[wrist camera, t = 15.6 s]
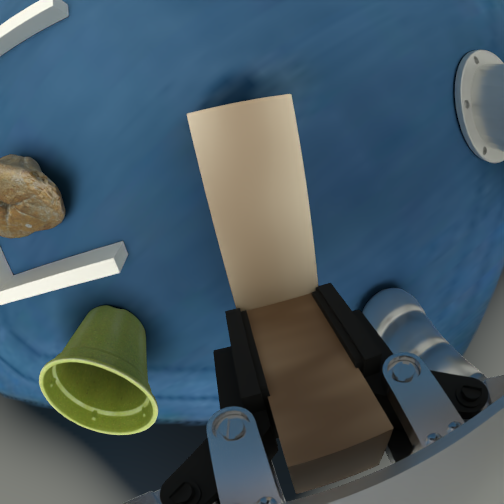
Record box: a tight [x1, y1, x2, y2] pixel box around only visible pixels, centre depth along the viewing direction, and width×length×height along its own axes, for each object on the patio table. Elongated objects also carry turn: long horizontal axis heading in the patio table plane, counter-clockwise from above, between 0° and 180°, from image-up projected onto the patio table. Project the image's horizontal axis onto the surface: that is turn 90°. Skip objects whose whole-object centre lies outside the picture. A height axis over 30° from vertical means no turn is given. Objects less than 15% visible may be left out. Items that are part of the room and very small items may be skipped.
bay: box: [0, 0, 128, 305], centre depth 16 cm, size 14×21×3 cm, turn 11°
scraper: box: [187, 94, 394, 494], centre depth 10 cm, size 3×16×9 cm, turn 11°
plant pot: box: [39, 305, 158, 435], centre depth 21 cm, size 9×9×9 cm
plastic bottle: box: [362, 288, 487, 382], centre depth 20 cm, size 6×7×20 cm
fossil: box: [0, 154, 65, 238], centre depth 16 cm, size 9×4×10 cm
